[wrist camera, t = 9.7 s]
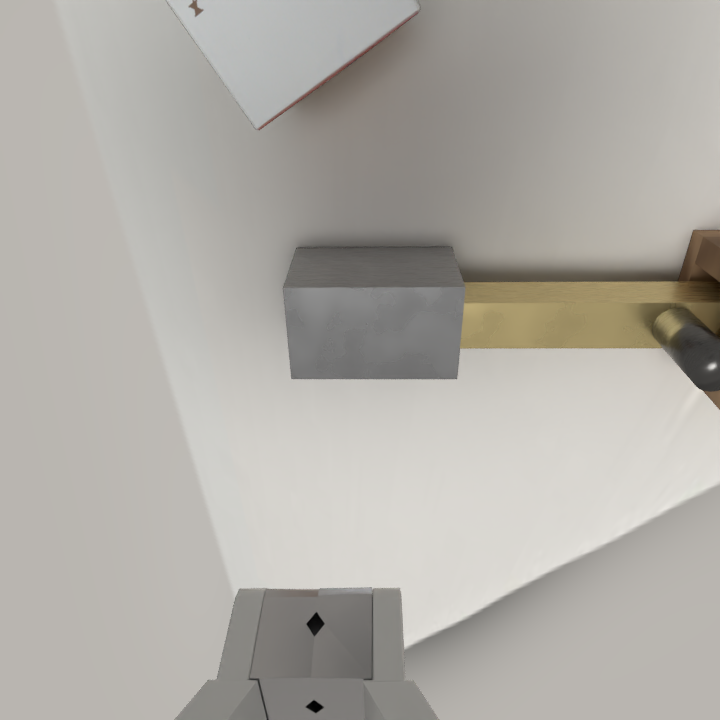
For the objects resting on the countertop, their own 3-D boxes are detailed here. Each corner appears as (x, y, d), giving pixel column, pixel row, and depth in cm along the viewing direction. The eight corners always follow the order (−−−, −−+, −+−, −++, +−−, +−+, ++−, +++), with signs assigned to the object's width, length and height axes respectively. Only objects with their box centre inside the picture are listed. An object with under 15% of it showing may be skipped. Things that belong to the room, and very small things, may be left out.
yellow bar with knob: (454, 282, 35) (473, 346, 28) (781, 281, 34) (883, 346, 27) (450, 324, 36) (468, 395, 30) (763, 324, 36) (855, 396, 29)
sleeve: (296, 247, 36) (282, 287, 31) (451, 246, 36) (465, 287, 30) (302, 329, 39) (291, 378, 34) (445, 329, 39) (457, 379, 34)
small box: (287, 103, 32) (252, 137, 23) (223, 5, 29) (157, -1, 20) (409, 14, 29) (425, 12, 20) (351, -101, 27) (340, -161, 18)
